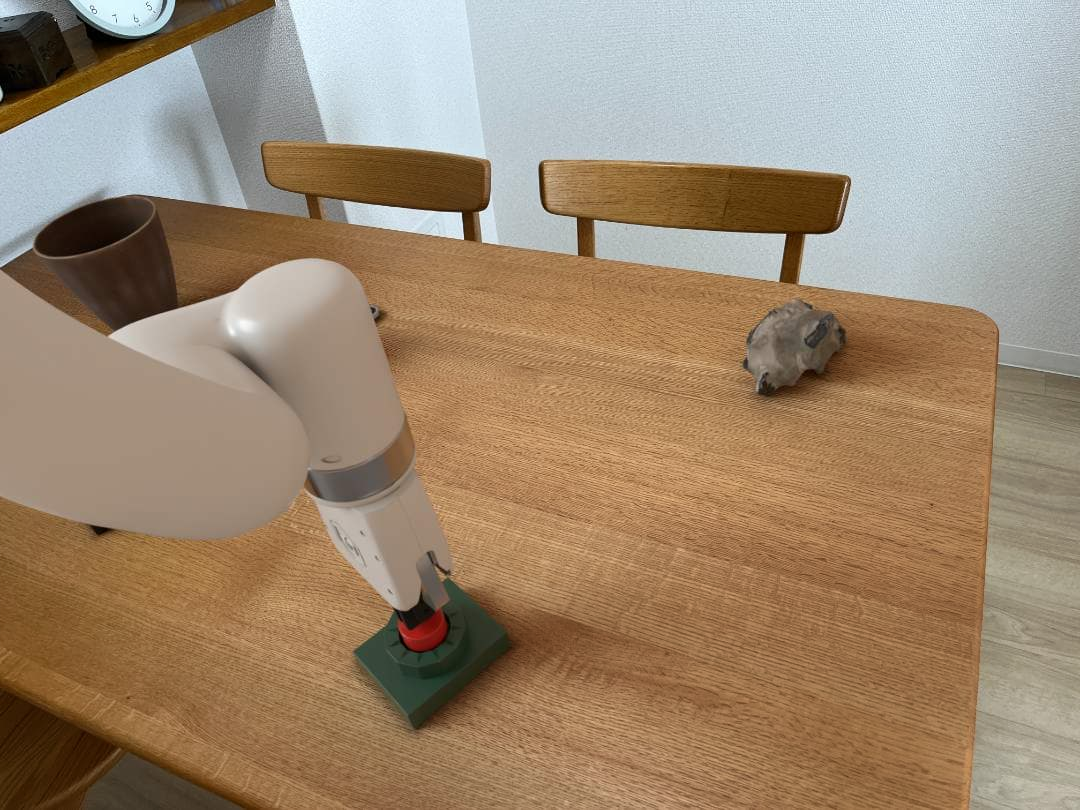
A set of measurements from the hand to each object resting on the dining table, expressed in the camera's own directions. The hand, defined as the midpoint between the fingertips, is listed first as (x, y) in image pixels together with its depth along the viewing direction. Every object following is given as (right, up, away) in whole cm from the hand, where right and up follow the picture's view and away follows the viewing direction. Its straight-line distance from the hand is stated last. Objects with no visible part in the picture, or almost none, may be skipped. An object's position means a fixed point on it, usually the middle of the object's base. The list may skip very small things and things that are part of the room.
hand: (420, 612), depth 63 cm
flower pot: (-44, +27, +48) cm, 70 cm away
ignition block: (+1, -5, +4) cm, 6 cm away
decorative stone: (+37, +20, +25) cm, 49 cm away
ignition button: (0, -2, +2) cm, 3 cm away
